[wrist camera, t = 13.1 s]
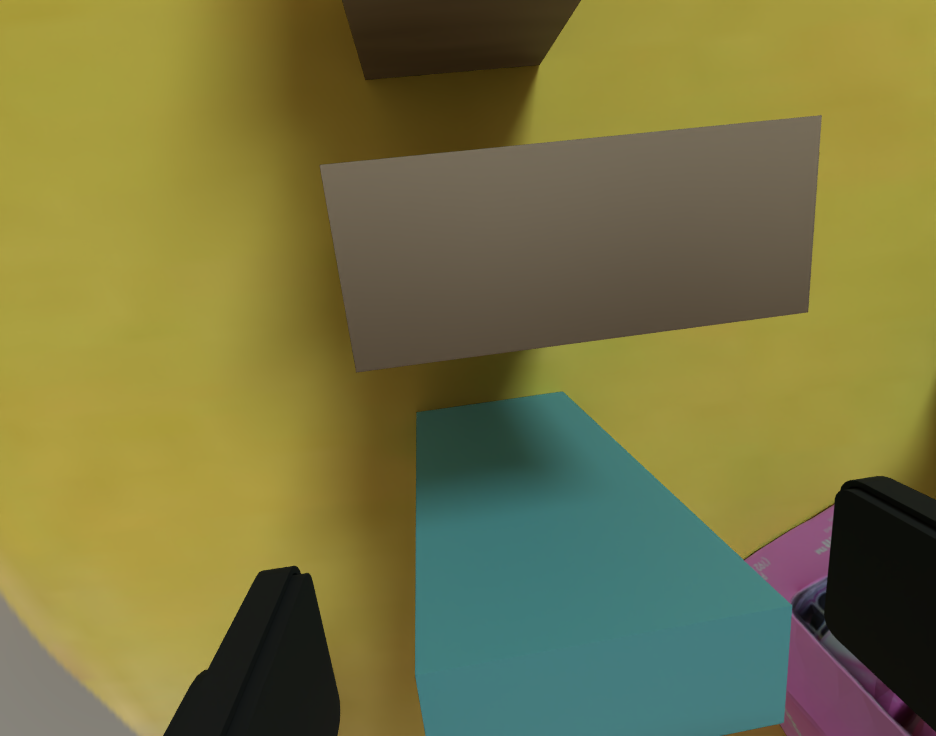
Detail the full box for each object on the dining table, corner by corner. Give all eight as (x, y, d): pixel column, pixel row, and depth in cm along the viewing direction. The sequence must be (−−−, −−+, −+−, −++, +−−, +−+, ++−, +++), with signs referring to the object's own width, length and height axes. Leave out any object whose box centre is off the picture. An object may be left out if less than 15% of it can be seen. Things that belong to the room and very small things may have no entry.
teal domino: (566, 445, 16) (783, 722, 7) (424, 467, 16) (436, 794, 6) (562, 391, 16) (791, 604, 6) (416, 412, 15) (415, 674, 6)
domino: (387, 228, 14) (320, 165, 4) (549, 210, 14) (822, 114, 5) (397, 294, 14) (356, 371, 5) (553, 275, 15) (808, 312, 5)
